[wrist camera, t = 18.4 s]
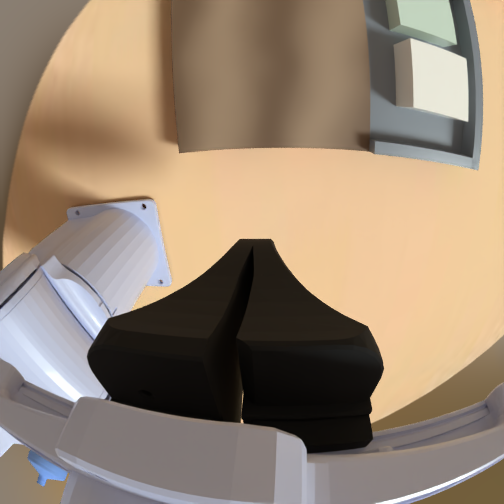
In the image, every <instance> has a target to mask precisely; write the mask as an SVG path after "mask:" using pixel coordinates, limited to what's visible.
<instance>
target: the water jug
mask: <svg viewBox="0 0 504 504" xmlns="http://www.w3.org/2000/svg"><path fill="white" fill-rule="evenodd" d="M28 460H29V461H30V463H31V464H32V465H33V466H34V468H35V469H36V470H37V472H38V473H39V477H38V481H37V483H39V484H40V485H42V486H44V485H45V483H46V480H47V479H53V480H61V481H64V480H65V478H66V476H67V472H66V471H64V470H63V469H61V468H59V467H57V466H56V465H54V464H52V463H51V462H49V461H47V460H46V459H44V458H43V457H41V456H39V455H38V454H36V453H35V452H33V451H32V450H30V451H29V455H28Z"/></svg>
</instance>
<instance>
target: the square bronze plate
mask: <svg viewBox="0 0 504 504" xmlns="http://www.w3.org/2000/svg"><path fill="white" fill-rule="evenodd" d="M171 32H172V65H173V85H174V100H175V113H176V125H177V136H178V146H179V153H186V152H196V151H208V150H223V149H242V148H326V149H345V150H359V151H369V144H370V68H369V52H368V39H367V29H366V20H365V12H364V5H363V0H171Z"/></svg>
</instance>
